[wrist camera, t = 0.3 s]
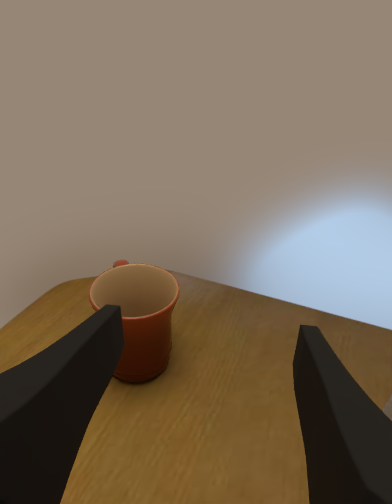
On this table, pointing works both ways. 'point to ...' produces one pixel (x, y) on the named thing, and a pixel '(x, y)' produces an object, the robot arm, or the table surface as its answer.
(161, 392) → the table surface
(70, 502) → the table surface
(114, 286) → the mug
